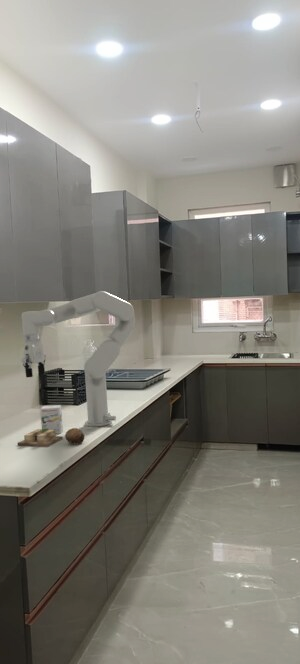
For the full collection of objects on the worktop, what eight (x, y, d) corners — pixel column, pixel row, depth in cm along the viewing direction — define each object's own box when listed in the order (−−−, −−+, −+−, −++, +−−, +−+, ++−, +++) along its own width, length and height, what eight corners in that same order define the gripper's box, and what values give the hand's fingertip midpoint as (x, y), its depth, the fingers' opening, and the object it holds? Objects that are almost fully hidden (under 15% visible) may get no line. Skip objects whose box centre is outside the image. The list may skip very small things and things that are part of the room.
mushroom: (61, 434, 207) (67, 422, 205) (79, 438, 210) (85, 427, 208) (62, 447, 201) (68, 436, 198) (81, 452, 204) (87, 440, 201)
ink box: (41, 434, 222) (39, 408, 222) (44, 432, 227) (42, 406, 227) (61, 433, 222) (59, 407, 221) (63, 431, 227) (61, 404, 226)
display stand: (33, 437, 217) (33, 428, 217) (62, 438, 213) (61, 429, 213) (17, 445, 206) (16, 435, 206) (47, 446, 201) (47, 436, 201)
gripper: (27, 339, 222) (31, 378, 223) (49, 336, 238) (53, 372, 239) (13, 340, 225) (17, 378, 226) (36, 337, 241) (39, 372, 242)
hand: (35, 375), depth 233 cm, fingers open, 9 cm apart
